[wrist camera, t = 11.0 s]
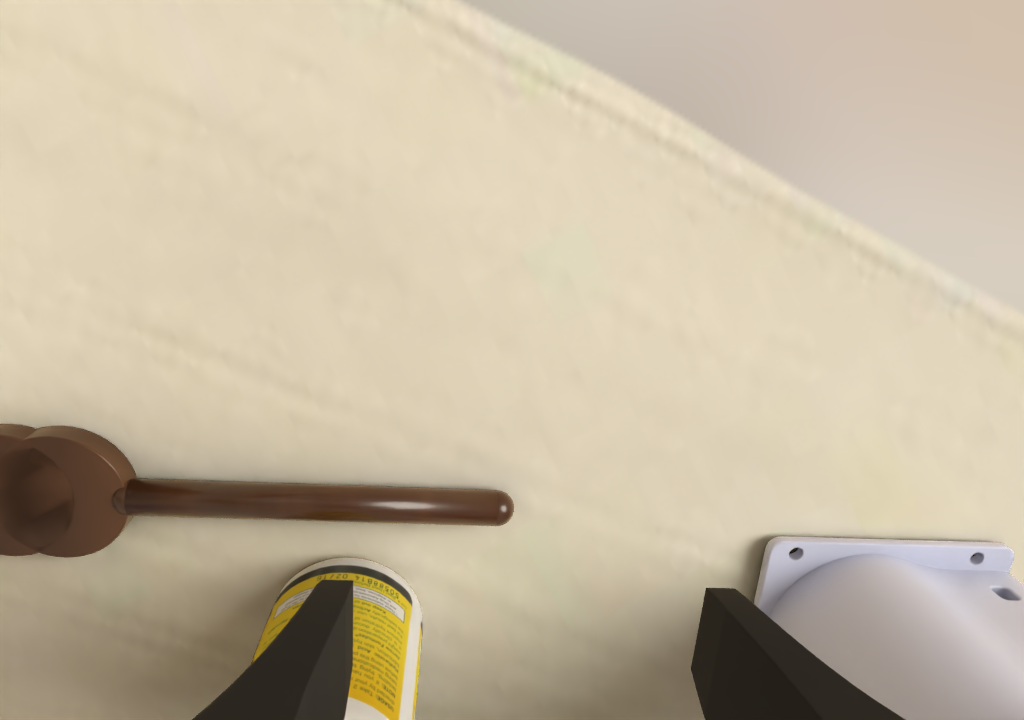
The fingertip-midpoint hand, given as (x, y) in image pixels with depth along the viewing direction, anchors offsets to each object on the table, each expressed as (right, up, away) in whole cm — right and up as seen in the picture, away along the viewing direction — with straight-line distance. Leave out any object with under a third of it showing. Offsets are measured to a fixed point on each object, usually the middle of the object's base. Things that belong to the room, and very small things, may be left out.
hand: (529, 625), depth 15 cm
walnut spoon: (-10, +1, +10) cm, 14 cm away
